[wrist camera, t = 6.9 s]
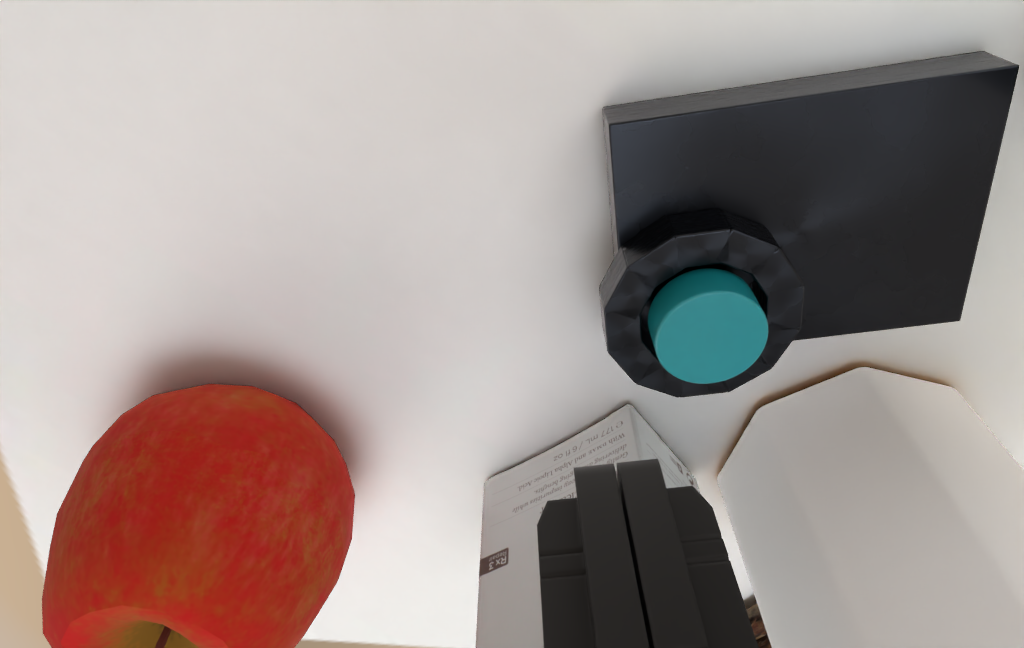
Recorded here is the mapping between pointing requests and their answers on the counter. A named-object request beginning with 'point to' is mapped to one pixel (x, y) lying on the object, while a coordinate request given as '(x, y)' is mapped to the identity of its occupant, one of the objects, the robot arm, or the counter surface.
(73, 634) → the apple
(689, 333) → the button
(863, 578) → the cup
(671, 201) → the black push-button base
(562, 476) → the cosmetic box
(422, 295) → the counter surface
